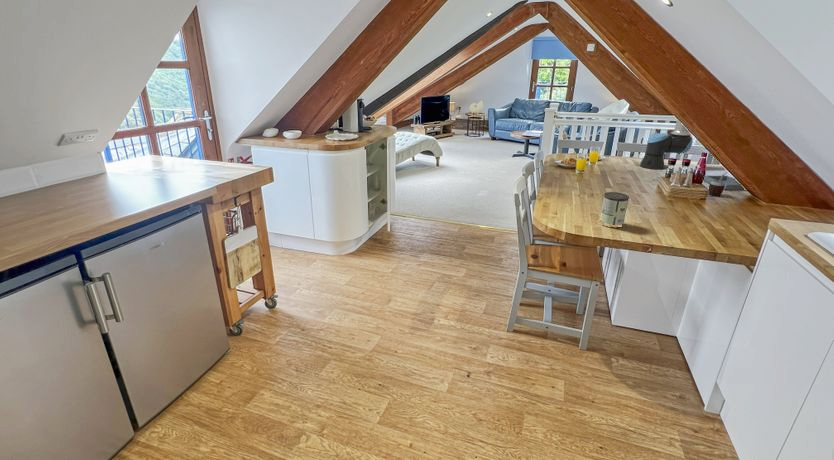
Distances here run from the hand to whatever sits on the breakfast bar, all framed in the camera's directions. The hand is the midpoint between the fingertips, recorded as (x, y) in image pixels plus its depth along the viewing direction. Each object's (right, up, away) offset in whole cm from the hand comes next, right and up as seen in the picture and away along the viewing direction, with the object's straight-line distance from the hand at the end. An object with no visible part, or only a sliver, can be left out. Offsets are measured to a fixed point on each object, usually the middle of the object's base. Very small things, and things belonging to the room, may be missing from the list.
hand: (710, 163), depth 244 cm
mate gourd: (-6, -20, -11) cm, 24 cm away
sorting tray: (+14, -12, +7) cm, 20 cm away
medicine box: (0, -1, 0) cm, 1 cm away
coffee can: (-84, -37, -53) cm, 106 cm away
